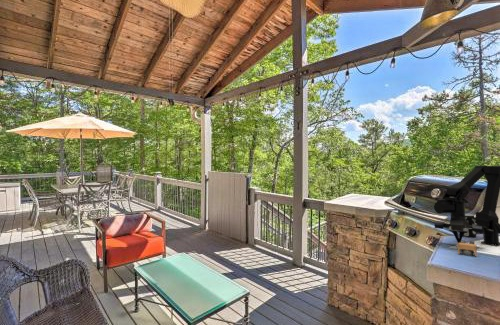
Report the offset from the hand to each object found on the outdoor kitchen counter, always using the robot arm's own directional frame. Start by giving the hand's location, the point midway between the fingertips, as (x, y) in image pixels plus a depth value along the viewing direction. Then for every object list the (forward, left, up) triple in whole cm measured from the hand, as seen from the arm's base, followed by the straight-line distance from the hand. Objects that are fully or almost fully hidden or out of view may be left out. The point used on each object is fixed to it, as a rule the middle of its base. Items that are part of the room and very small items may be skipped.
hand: (459, 244), depth 130 cm
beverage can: (-24, -4, -1) cm, 24 cm away
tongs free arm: (+2, +2, -1) cm, 3 cm away
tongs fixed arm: (+3, +5, -1) cm, 6 cm away
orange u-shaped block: (+11, +7, -1) cm, 13 cm away
